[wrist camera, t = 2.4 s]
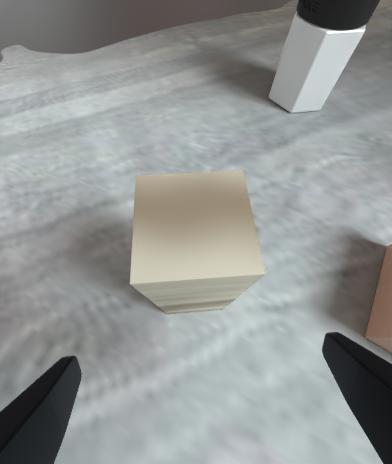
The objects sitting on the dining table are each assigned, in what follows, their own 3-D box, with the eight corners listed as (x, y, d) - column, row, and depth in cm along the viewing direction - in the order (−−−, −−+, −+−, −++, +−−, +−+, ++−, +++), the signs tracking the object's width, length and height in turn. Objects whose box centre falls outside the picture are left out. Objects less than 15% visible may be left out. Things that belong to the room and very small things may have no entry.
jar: (275, 75, 35) (312, -39, 25) (325, 86, 34) (386, -28, 23) (263, 107, 32) (299, -11, 21) (318, 120, 30) (387, 3, 20)
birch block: (222, 309, 19) (266, 274, 8) (167, 314, 19) (129, 284, 8) (216, 257, 21) (242, 170, 10) (166, 260, 21) (135, 175, 10)
